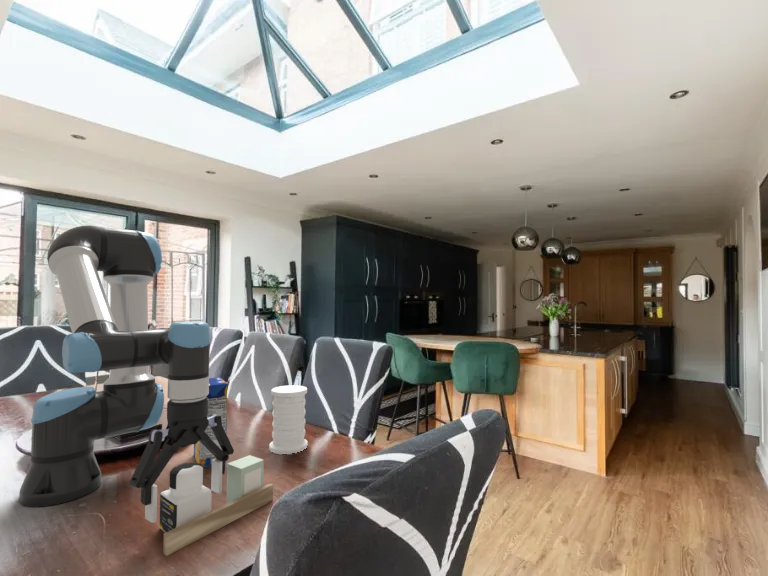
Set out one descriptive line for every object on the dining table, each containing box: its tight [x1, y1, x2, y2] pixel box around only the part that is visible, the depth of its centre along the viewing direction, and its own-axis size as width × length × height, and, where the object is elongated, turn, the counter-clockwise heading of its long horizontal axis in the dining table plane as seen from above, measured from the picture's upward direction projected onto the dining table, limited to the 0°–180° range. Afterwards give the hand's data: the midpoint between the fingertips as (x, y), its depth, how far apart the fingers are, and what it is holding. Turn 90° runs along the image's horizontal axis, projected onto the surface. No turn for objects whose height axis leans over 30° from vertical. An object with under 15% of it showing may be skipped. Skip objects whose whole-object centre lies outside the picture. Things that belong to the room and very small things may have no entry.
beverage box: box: [193, 376, 228, 468], centre depth 115 cm, size 7×11×22 cm, turn 32°
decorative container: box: [268, 384, 309, 455], centre depth 124 cm, size 12×12×18 cm
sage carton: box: [226, 454, 265, 504], centre depth 90 cm, size 5×6×9 cm
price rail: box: [162, 483, 274, 557], centre depth 81 cm, size 2×24×4 cm, turn 147°
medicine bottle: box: [159, 461, 213, 533], centre depth 80 cm, size 7×7×12 cm
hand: (185, 504), depth 80 cm, fingers open, 13 cm apart
